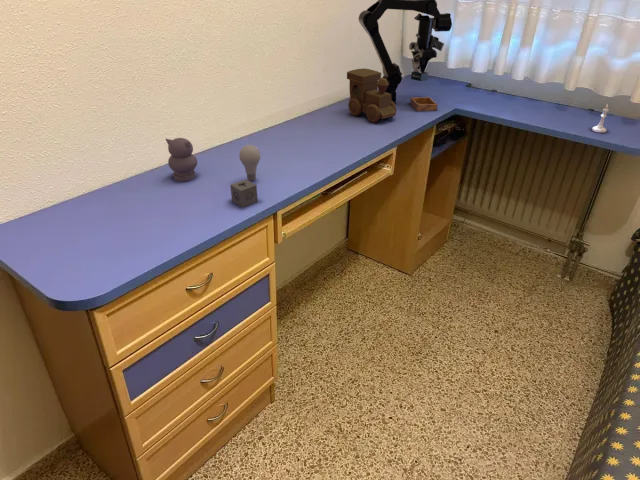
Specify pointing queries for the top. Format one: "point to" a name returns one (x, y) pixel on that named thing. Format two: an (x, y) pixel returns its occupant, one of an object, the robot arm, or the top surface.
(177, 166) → the cat figurine
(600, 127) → the chess piece
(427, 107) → the tray
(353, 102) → the wooden toy train
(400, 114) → the top surface
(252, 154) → the lightbulb
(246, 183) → the dark grey engraved cube
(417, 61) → the watch
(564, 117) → the top surface
